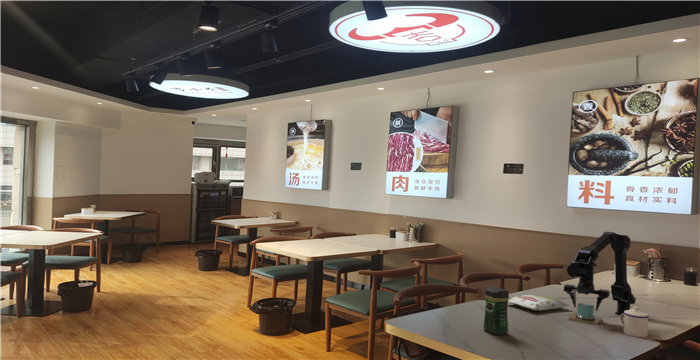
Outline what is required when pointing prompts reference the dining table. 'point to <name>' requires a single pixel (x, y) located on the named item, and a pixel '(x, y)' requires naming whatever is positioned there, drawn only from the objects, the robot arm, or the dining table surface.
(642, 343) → the dining table surface
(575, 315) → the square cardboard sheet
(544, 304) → the frozen beans
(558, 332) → the dining table surface
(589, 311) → the cap
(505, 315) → the coffee jar
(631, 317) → the teacup with lid
